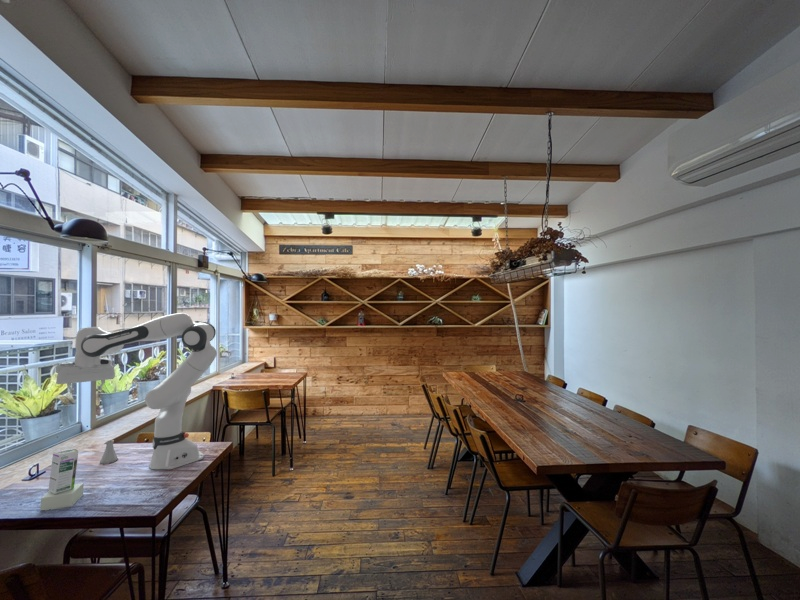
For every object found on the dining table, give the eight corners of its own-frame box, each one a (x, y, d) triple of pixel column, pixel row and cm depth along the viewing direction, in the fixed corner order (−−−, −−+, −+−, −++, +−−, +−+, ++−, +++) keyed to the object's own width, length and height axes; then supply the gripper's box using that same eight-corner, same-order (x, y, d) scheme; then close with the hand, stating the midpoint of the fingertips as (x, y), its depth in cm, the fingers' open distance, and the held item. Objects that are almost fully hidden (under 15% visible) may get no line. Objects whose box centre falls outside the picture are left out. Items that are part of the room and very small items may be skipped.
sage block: (83, 495, 138) (83, 482, 138) (71, 506, 129) (72, 493, 129) (53, 500, 134) (54, 487, 134) (40, 512, 126) (41, 498, 126)
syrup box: (54, 494, 128) (60, 454, 129) (47, 491, 130) (52, 451, 132) (74, 488, 133) (79, 450, 135) (66, 485, 136) (72, 447, 137)
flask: (97, 465, 165) (98, 444, 166) (101, 460, 172) (102, 440, 172) (116, 462, 169) (117, 441, 169) (120, 457, 175) (120, 437, 176)
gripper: (56, 364, 151) (54, 396, 150) (115, 360, 165) (114, 389, 164) (56, 363, 155) (54, 393, 154) (114, 359, 170) (113, 387, 169)
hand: (86, 391), depth 159 cm, fingers open, 8 cm apart
